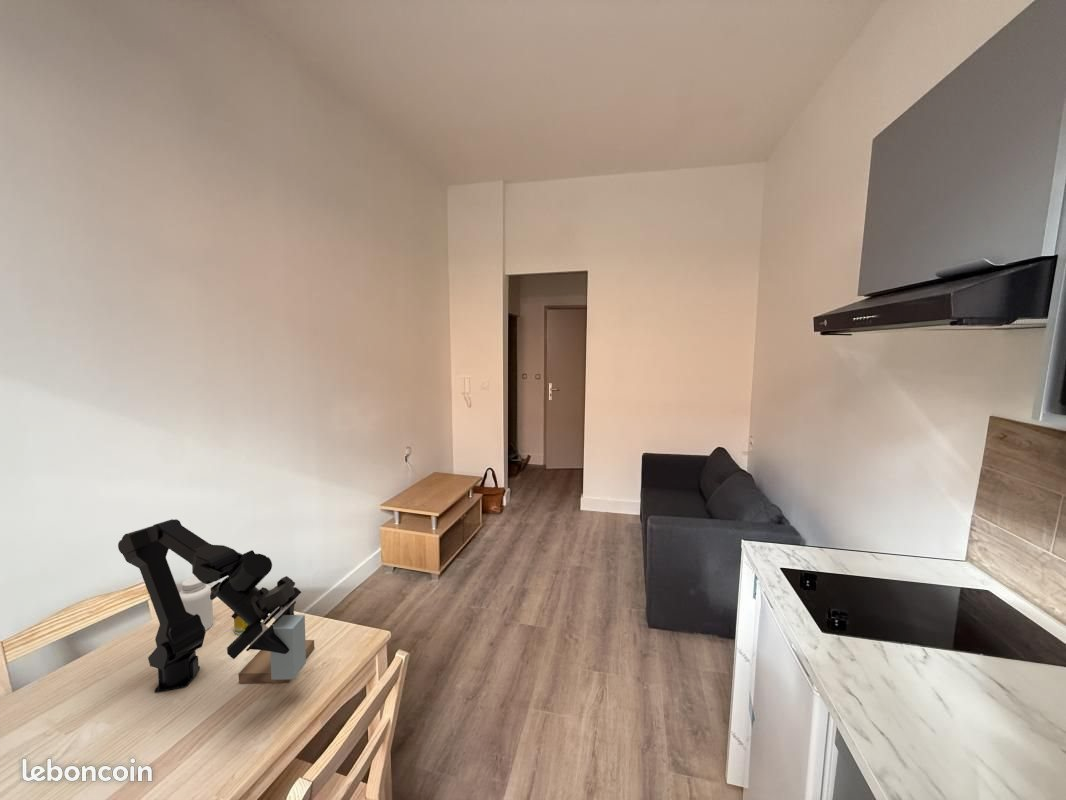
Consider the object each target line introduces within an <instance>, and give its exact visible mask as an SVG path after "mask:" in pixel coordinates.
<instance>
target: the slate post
mask: <svg viewBox="0 0 1066 800" xmlns="http://www.w3.org/2000/svg"><path fill="white" fill-rule="evenodd" d="M273 630H274V633H275V634H276V635H277V636H278V637H279V638H280V640H281V641H282V642H283V643H284V644H285V645H286V646H287V647H288V648H289V651H288V652H287V653H286V654H282V653H276V652H271V651H270V652H271V680H285V679H291V680H295V679H296V677H297V676H298V675H299V673H300V672H301V670H302V669H303V668H304V667H305V665H306V664H307V659H306V646H305V640H306V615H305V614H294V615H283V616H282V617H281V618H280V619H279V620H278V621H277V622H276V623H275V624H274V625H273Z"/></svg>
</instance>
